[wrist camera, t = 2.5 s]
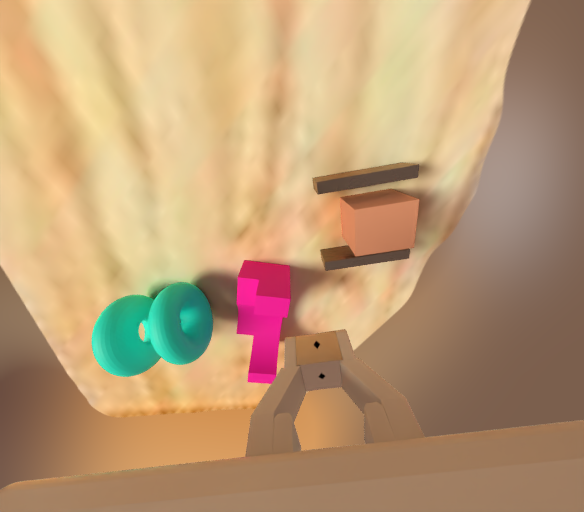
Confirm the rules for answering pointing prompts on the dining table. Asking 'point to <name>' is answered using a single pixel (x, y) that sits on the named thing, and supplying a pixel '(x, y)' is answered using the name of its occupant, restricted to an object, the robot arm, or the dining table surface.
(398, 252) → the guide channel
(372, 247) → the terracotta block
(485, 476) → the robot arm
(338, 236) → the dining table surface
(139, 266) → the dining table surface
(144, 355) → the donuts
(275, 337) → the toy block
